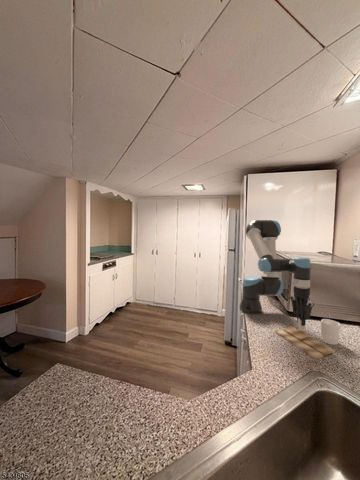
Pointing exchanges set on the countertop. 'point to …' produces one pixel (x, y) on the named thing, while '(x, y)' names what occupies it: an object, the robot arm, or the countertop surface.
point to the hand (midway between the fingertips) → (301, 330)
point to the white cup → (330, 331)
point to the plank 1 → (296, 333)
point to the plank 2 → (318, 346)
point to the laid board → (299, 344)
